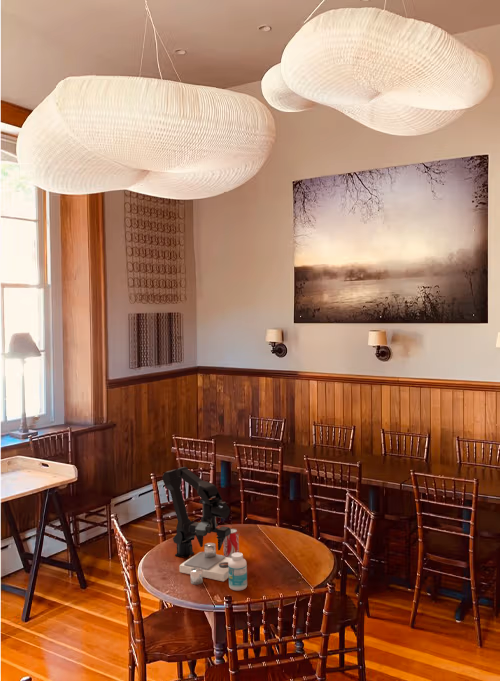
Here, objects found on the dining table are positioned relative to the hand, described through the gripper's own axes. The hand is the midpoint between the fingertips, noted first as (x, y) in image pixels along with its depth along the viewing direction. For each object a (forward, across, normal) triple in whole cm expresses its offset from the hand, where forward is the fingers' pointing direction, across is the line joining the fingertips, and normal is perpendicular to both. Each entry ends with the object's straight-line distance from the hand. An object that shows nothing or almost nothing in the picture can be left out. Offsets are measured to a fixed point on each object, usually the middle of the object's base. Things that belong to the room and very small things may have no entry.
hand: (210, 548), depth 270 cm
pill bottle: (+8, +22, -14) cm, 27 cm away
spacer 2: (+3, 0, 0) cm, 3 cm away
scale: (+7, +3, -4) cm, 9 cm away
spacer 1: (+7, +4, -18) cm, 19 cm away
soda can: (+7, +4, +12) cm, 14 cm away
